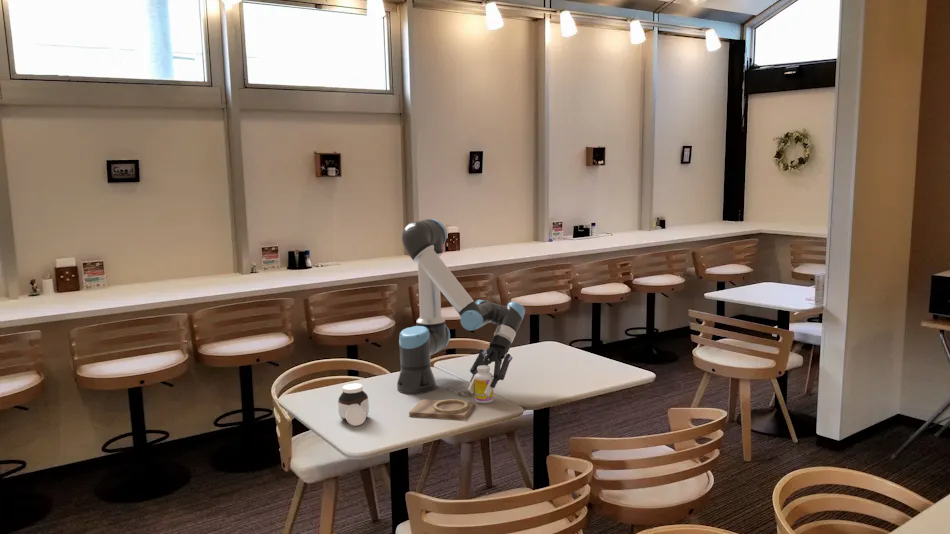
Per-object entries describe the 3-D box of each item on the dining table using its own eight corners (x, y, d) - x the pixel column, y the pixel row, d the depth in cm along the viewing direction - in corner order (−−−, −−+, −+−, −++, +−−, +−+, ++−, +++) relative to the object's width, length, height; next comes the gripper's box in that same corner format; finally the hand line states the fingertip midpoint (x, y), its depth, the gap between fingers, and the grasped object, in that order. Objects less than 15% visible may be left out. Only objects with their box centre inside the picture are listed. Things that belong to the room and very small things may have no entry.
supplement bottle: (487, 405, 262) (486, 370, 261) (471, 402, 266) (470, 368, 264) (496, 399, 268) (495, 365, 266) (481, 397, 271) (480, 363, 270)
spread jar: (357, 412, 259) (356, 380, 257) (379, 418, 252) (378, 386, 250) (331, 422, 250) (329, 389, 248) (353, 429, 243) (351, 395, 241)
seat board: (409, 416, 253) (408, 409, 253) (422, 403, 267) (421, 396, 266) (464, 419, 248) (464, 412, 248) (475, 406, 262) (474, 399, 261)
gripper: (528, 348, 271) (505, 402, 260) (485, 341, 282) (461, 393, 272) (520, 337, 266) (496, 392, 255) (477, 331, 277) (452, 383, 267)
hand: (478, 393), depth 264 cm, fingers closed on supplement bottle, 7 cm apart
